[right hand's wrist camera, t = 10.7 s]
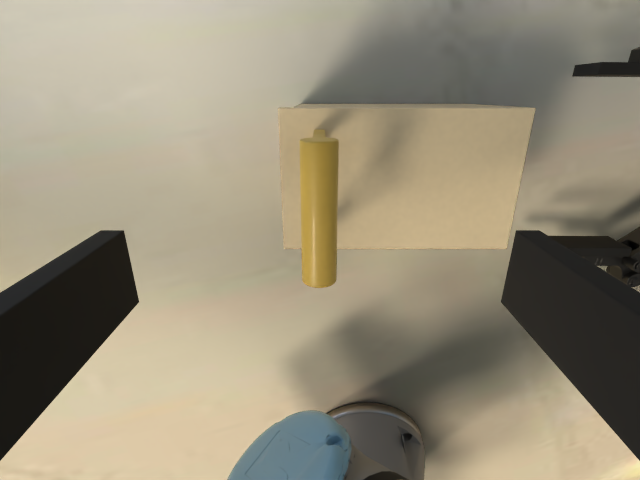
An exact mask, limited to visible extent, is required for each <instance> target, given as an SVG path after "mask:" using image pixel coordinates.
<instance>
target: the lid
mask: <svg viewBox="0 0 640 480" xmlns="http://www.w3.org/2000/svg"><path fill="white" fill-rule="evenodd" d="M535 110H536V108H529V107H280V108H278V118H279V143H280V168H281V193H282V217H283V242H284V249H302V280H303V282H304V283H305V284H306V285H308V286H310V287H315V288H323V287H328V286H331V285H333V284H334V283H335V281H336V269H337V249H507V245H508V240H509V235H510V231H511V226H512V221H513V216H514V211H515V206H516V202H517V197H518V192H519V187H520V182H521V177H522V173H523V168H524V163H525V158H526V153H527V148H528V144H529V139H530V134H531V129H532V124H533V119H534V115H535Z"/></svg>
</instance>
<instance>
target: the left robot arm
mask: <svg viewBox="0 0 640 480" xmlns="http://www.w3.org/2000/svg"><path fill="white" fill-rule="evenodd" d="M573 76H596V77H640V47H638V48H636V49H633V50H631V54H630V57H629V61H628V62H600V63H591V64H582V65H575V68H574V72H573ZM549 237H550V238H552V239H554V240H555V241H557V242H558V243H560V244H562V245H563V246H565V247H567V248H568V249H570V250H571V251H573V252H575V253H576V254H578V255H579V256H581V257H583V258H584V259H586V260H587V261H589V262H591V263H592V264H594V265H596V266H599V265H600V266H608V267H607V269H606V271H607V273H608V274H610V275H612V276H613V277H615V278H617V279H618V280H620V281H621V282H623V283H625V284H626V285H628V286H629V287H636V286H638V285H640V227H639V228H637V229H635V230H634V231H632V232H631V233H629V234H627V235H626V236H624V237H623V238H621V239H619V240H618V241H616V240H614V239H612V238H610V237H608V236H549ZM424 470H425V449H424V443H423V440H422V437H421V433H420V431H419V428H418V427H417V425H416V424H415V422H414V421H413V420H412V419H411V418H410V417H409V416H408V415H406V414H405V413H403V412H402V411H400V410H398V409H396V408H393V407H391V406H387V405H384V404H378V403H356V404H350V405H346V406H343V407H340V408H338V409H335V410H333V411H331V412H330V413H328V414H326V413H323V412H320V411H311V410H310V411H302V412H298V413H295V414H292V415H290V416H288V417H286V418H285V419H283V420H282V421H280V422H278V423H275V424H274V425H272V426H271V427H270V428H268V429H267V430H266V431H265V432H263V433H262V434H261V435H260V436H259V437H258V438H257V439H256V440H255V441H254V442H253V443H252V444H251V445H250V446H249V448H248V449H247V450H246V451H245V453H244V454H243V455H242V456H241V458H240V459H239V461H238V462H237V463H236V465H235V467H234V468H233V470H232V472H231V474H230V475H229V477H228V479H227V480H424Z"/></svg>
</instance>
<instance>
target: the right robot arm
mask: <svg viewBox="0 0 640 480" xmlns="http://www.w3.org/2000/svg"><path fill="white" fill-rule="evenodd" d="M138 302H139V300H138V295H137V290H136V286H135V281H134V276H133V271H132V267H131V262H130V257H129V253H128V248H127V243H126V239H125V234H124V231H99V232H98V233H96V234H94V235H93V236H91V237H90V238H88V239H86V240H85V241H83V242H82V243H80V244H78V245H77V246H75V247H73V248H72V249H70V250H69V251H67V252H65V253H64V254H62V255H61V256H59V257H57V258H56V259H54V260H53V261H51V262H49V263H48V264H46V265H44V266H43V267H41V268H40V269H38V270H36V271H35V272H33V273H32V274H30V275H28V276H27V277H25V278H23V279H22V280H20V281H19V282H17V283H15V284H14V285H12V286H11V287H9V288H7V289H6V290H4V291H2V292H1V293H0V460H1V459H2V458H3V457H4V456H5V455H6V454H7V452H8V451H9V450H10V449H11V448H12V447H13V445H14V444H15V443H16V442H17V441H18V440H19V439H20V437H21V436H22V435H23V434H24V433H25V432H26V431H27V429H28V428H29V427H30V426H31V425H32V424H33V423H34V421H35V420H36V419H37V418H38V417H39V416H40V415H41V413H42V412H43V411H44V410H45V409H46V408H47V407H48V405H49V404H50V403H51V402H52V401H53V400H54V399H55V397H56V396H57V395H58V394H59V393H60V392H61V391H62V389H63V388H64V387H65V386H66V385H67V384H68V383H69V381H70V380H71V379H72V378H73V377H74V376H75V375H76V373H77V372H78V371H79V370H80V369H81V368H82V367H83V365H84V364H85V363H86V362H87V361H88V360H89V359H90V357H91V356H92V355H93V354H94V353H95V352H96V351H97V349H98V348H99V347H100V346H101V345H102V344H103V343H104V341H105V340H106V339H107V338H108V337H109V336H110V334H111V333H112V332H113V331H114V330H115V329H116V328H117V326H118V325H119V324H120V323H121V322H122V321H123V320H124V318H125V317H126V316H127V315H128V314H129V313H130V312H131V310H132V309H133V308H134V307H135V306H136V305H137V304H138ZM501 302H502V304H503V305H504V306H505V307H506V308H507V309H508V310H509V312H510V313H511V314H512V315H513V316H514V317H515V318H516V320H517V321H518V322H519V323H520V324H521V325H522V326H523V328H524V329H525V330H526V331H527V332H528V333H529V334H530V336H531V337H532V338H533V339H534V340H535V341H536V343H537V344H538V345H539V346H540V347H541V348H542V349H543V351H544V352H545V353H546V354H547V355H548V356H549V357H550V359H551V360H552V361H553V362H554V363H555V364H556V365H557V367H558V368H559V369H560V370H561V371H562V372H563V373H564V375H565V376H566V377H567V378H568V379H569V380H570V381H571V383H572V384H573V385H574V386H575V387H576V388H577V389H578V391H579V392H580V393H581V394H582V395H583V396H584V397H585V399H586V400H587V401H588V402H589V403H590V404H591V405H592V407H593V408H594V409H595V410H596V411H597V412H598V413H599V415H600V416H601V417H602V418H603V419H604V420H605V421H606V423H607V424H608V425H609V426H610V427H611V428H612V429H613V431H614V432H615V433H616V434H617V435H618V436H619V437H620V439H621V440H622V441H623V442H624V443H625V444H626V445H627V447H628V448H629V449H630V450H631V451H632V452H633V454H634V455H635V456H636V457H637V458H638V459H639V460H640V293H639V292H638V291H636V290H634V289H633V288H631V287H629V286H628V285H626V284H625V283H623V282H621V281H620V280H618V279H617V278H615V277H613V276H612V275H610V274H608V273H607V272H605V271H604V270H602V269H600V268H599V267H597V266H596V265H594V264H592V263H591V262H589V261H587V260H586V259H584V258H583V257H581V256H579V255H578V254H576V253H575V252H573V251H571V250H570V249H568V248H567V247H565V246H563V245H562V244H560V243H558V242H557V241H555V240H554V239H552V238H550V237H549V236H547V235H546V234H544V233H542V232H541V231H516V234H515V239H514V243H513V248H512V253H511V257H510V262H509V267H508V271H507V276H506V281H505V285H504V290H503V295H502V300H501Z"/></svg>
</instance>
